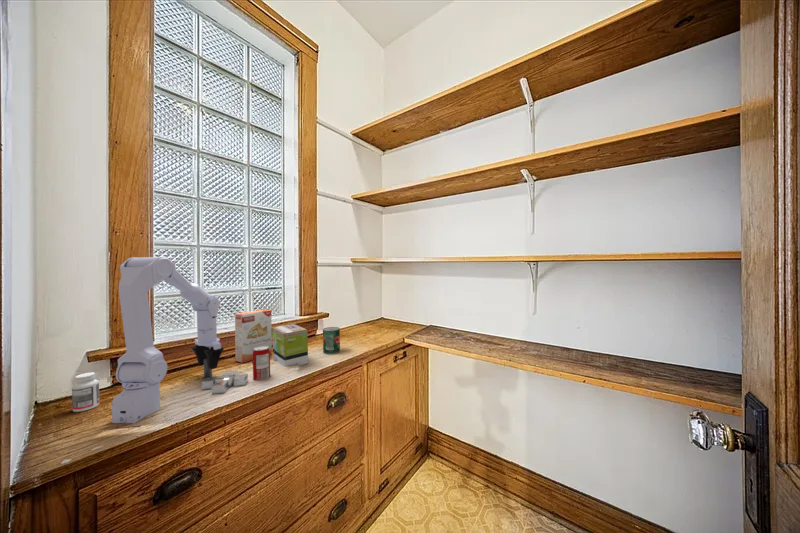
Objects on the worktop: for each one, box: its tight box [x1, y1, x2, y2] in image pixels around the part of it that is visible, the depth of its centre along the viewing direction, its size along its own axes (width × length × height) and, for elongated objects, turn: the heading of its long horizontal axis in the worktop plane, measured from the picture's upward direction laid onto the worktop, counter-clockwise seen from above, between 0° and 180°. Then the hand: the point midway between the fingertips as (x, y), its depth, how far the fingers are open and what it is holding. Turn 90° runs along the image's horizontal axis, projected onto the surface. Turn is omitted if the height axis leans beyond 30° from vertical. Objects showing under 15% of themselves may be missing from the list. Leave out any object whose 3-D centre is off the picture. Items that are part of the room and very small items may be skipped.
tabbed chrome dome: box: [201, 370, 249, 395], centre depth 95 cm, size 13×13×3 cm
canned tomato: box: [322, 326, 341, 355], centre depth 134 cm, size 8×8×11 cm
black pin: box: [203, 358, 213, 380], centre depth 102 cm, size 2×2×8 cm
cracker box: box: [234, 309, 273, 364], centre depth 127 cm, size 14×6×21 cm, turn 148°
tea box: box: [271, 323, 309, 367], centre depth 120 cm, size 15×10×15 cm, turn 42°
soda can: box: [252, 346, 271, 381], centre depth 101 cm, size 6×6×12 cm
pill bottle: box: [71, 371, 101, 413], centre depth 83 cm, size 5×5×10 cm
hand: (208, 366), depth 102 cm, fingers open, 7 cm apart
